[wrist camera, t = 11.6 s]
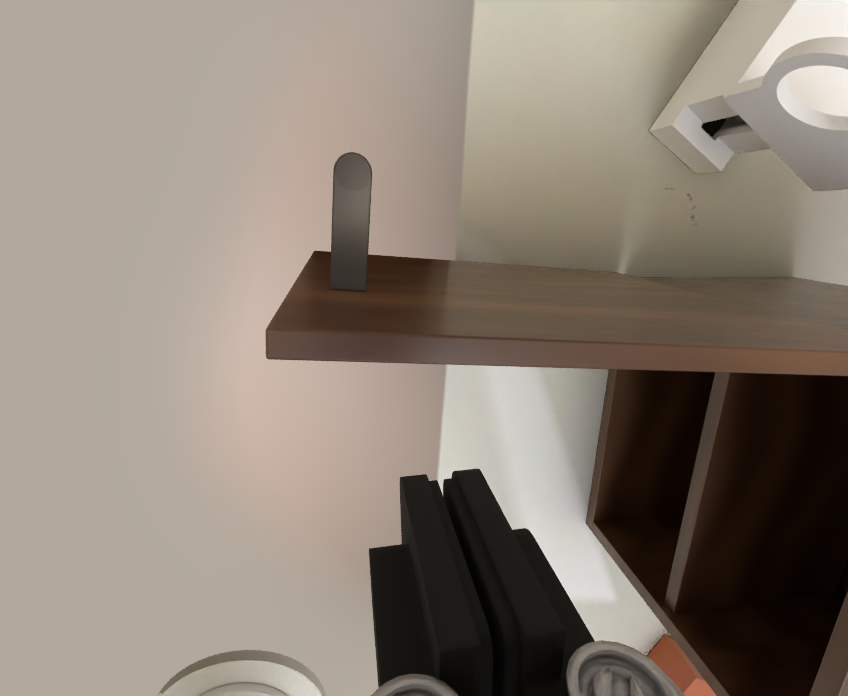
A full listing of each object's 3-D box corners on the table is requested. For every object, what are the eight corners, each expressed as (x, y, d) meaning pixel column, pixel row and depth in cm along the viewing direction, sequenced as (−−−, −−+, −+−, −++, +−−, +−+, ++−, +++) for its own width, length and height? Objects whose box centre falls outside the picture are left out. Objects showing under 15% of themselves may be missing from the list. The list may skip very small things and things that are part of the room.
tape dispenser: (714, 193, 41) (980, 186, 24) (612, 99, 37) (840, 11, 20) (824, 44, 38) (1205, -82, 21) (727, -73, 35) (1096, -339, 18)
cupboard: (585, 523, 49) (796, 802, 26) (622, 277, 42) (967, 368, 19) (732, 509, 52) (1038, 748, 29) (792, 276, 45) (1272, 354, 22)
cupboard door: (315, 172, 35) (262, 112, 12) (630, 204, 40) (1018, 205, 17) (313, 263, 37) (265, 360, 14) (614, 283, 41) (942, 379, 19)
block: (668, 677, 59) (699, 723, 54) (637, 666, 58) (666, 712, 52) (694, 646, 58) (728, 689, 53) (664, 634, 57) (696, 677, 51)
